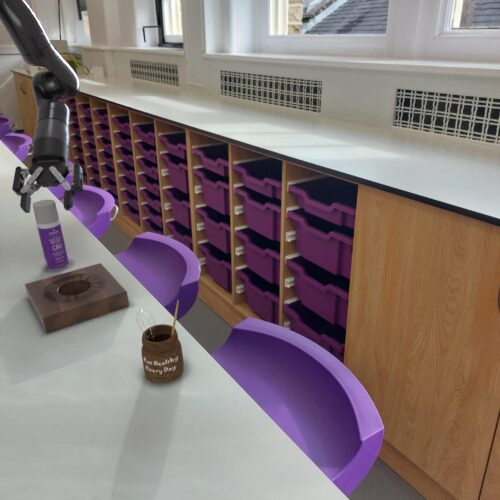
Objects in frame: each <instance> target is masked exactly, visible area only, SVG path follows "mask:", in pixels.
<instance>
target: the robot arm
mask: <svg viewBox="0 0 500 500" xmlns="http://www.w3.org/2000/svg"><path fill="white" fill-rule="evenodd" d="M0 22H1V24H2V25H3V26H4V28H5V31H6V32H7V33H8V35H9V37H10V39H11V41H12V42H13V44H14V46H15V48H16V49H17V52H18V53H19V54H20V56H21V58H22V59H23V61H24V62H25V63H26V64H27V65H28V66H32V67H42V68H44V69H45V70H40V71H38V72H36V73H35V74H34V75H33V76H32V79H31V82H30V83H31V84H30V85H31V89H32V94H33V98H34V102H35V107H36V121H35V128H34V131H33V139H32V151H31V164H30V166H29V168H22V167H21V166H19V165H18V166H16V167H15V170H14V176H13V181H12V187H11V190H12V191H13V192H14V193H15V194H16V195H17V196H18V197H20V202H19V203H20V204H19V206H20V209H21V210H22V211H23V212H24V213H25V214H30V213H31V204H32V196H33V195H34V194H35V192H38V191H39V190H40V189H41V188H49V187H52V188H56V187H58V186H61V187H62V188H63V189H65V190H64V193H63V209H64V210H65V211H66V212H67V211H71V209H72V208H73V206H74V196H75V194H76V193H82V192H83V191H84V170H83V168H82V167H81V165H80V163H79V162H75V163H74V164H73V165H69V160H70V159H69V158H70V146H71V140H70V139H71V138H70V137H71V135H70V121H71V110H70V108H69V106H68V105H67V104H66V103H64V102H62V101H63V100H67V99H72V98H75V97H76V96H77V95H79V92H80V90H81V83H80V79H79V77H78V75H77V73H76V72H75V70H74V68H72V67H71V65H69V62H67V61H66V60H65V59H64V58H63V57H62V55H61V54H60V53H59V52H58V51H57V50H56V48H55V47H54V45H53V44H52V42H51V41H50V39H49V37H48V34H47V33H46V31H45V29H44V27H43V25H42V24H41V22H40V20H39V19H38V17H37V16H36V14H35V12H34V11H33V10H32V9H31V8H30V6H29V4H28V3H27V2H26V1H25V0H0ZM70 173H71V174H72V176H73V184H72V185H70V184H69V182H68V181H67V180H66V178H67V177H68V176H69V175H70ZM29 175H30V177H28V176H29ZM26 179H27V180H26ZM25 181H26V183H25Z"/></svg>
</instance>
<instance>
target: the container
mask: <svg viewBox="0 0 500 500" xmlns="http://www.w3.org/2000/svg"><path fill="white" fill-rule="evenodd" d="M32 209H33V213H34V218H35V222H36V223H35V224H36V229H37V233H38V236H39V241H40V244H41V249H42V252H43V257H44V261H45V265H46V269H47V270H48V271H52V272H53V271H54V272H55V271H56V272H57V271H61V270H63V269H66V268H67V267H69V265H70V262H69V258H68V252H67V247H66V241H65V238H64V234H63V229H62V224H61V220H60V216H59V212H58V208H57V204H56V200H54V199H42V200H38V201H35V202H32Z"/></svg>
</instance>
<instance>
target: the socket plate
mask: <svg viewBox="0 0 500 500" xmlns="http://www.w3.org/2000/svg"><path fill="white" fill-rule="evenodd" d="M24 287H25V291H26V294H27V298H28V300H29V302H30V304H31V306H32V308H33V310H34V312H35V314H36V317H37V318H38V320H39V322H40V324H41V326H42V328H43V330H44V332H45V334H47V335H48V334H51V333H54V332H56V331H60V330H63V329H67V328H68V327H71V326H75V325H77V324H81V323H83V322H87V321H90V320H92V319H95V318H99V317H101V316H104V315H107V314H111V313H114V312H116V311H120V310H122V309H126V308H128V307H130V302H129V296H128V291H127V290H126V289H125V287H124V286H122V284H121V283H120V282H119V281H118V280H117V279H116V278H115V277H114V275H113V274H111V272H110V271H109V270H108V269H107V268H106V267H105V266H104V264H103V263H102V262H99V263H95V264H92V265H89V266H85V267H81V268H78V269H74V270H70V271H67V272H63V273H59V274H57V275H52V276H49V277H45V278H42V279H38V280H34V281H31V282H27V283H25V284H24Z"/></svg>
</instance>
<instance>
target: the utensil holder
mask: <svg viewBox="0 0 500 500" xmlns="http://www.w3.org/2000/svg"><path fill="white" fill-rule="evenodd" d="M179 302H180V300H179V299H177V302H176V306H175V311H174V317H173V322H172V325H171V324H164V323H161V324H156V322H155V320H154V317H153V315H152V314H151V312H150V311H148V309H147V308H146V309H145V308H143V309H139V311H138V313H136V314H135V316H136V318H135V320H136V323H137V325H138V327H139V329H140V331H141V332H142V334H141V335H142V336H141V343H142V345H141V359H142V365H143V370H144V374H145V377H146V379H148V381H150V382H152V383H155V384H166V383H171V382H173V381H175V380H177V379H178V378H180V376H182V375H183V372H184V367H185V365H184V364H185V363H184V355H183V348H182V342H181V341H180V339H179V334H178V331H177V329H176V323H177V316H178V311H179V310H178V309H179ZM147 311H148V313H149V314H150V318H151V319H152V320H151V321H152V323H151V322H150V321H149V320H150V319H149V316H148V315H147V313H146V312H147ZM142 312H143V313H144V315H145V316H146V319H147V323H148V326H149V327H148V328H147V329H146V325H145V324H144V320H143V319H142V318H143V317H142V316H143V315H142V314H141V313H142ZM140 315H141V316H140ZM138 317H139V318H138ZM138 319H140V321H141V324H142V326H143V328H144V331H143V329H142V328H141V326H140V324H139V321H138ZM152 324H153V325H152Z"/></svg>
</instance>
